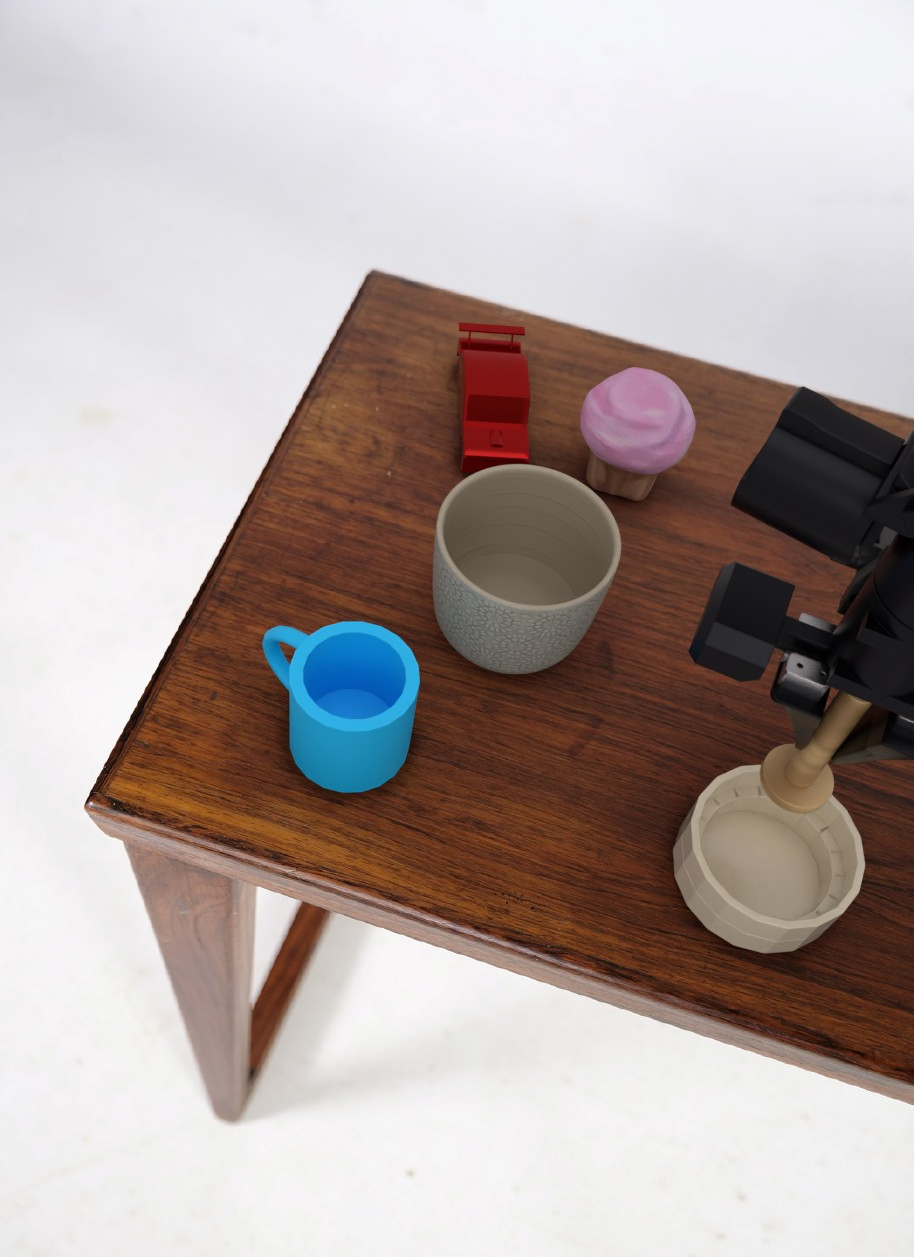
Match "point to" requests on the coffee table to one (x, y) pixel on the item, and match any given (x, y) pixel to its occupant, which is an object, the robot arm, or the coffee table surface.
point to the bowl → (765, 865)
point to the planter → (521, 566)
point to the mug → (347, 702)
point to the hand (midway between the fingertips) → (817, 749)
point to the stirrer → (811, 759)
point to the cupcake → (634, 431)
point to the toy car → (492, 398)
